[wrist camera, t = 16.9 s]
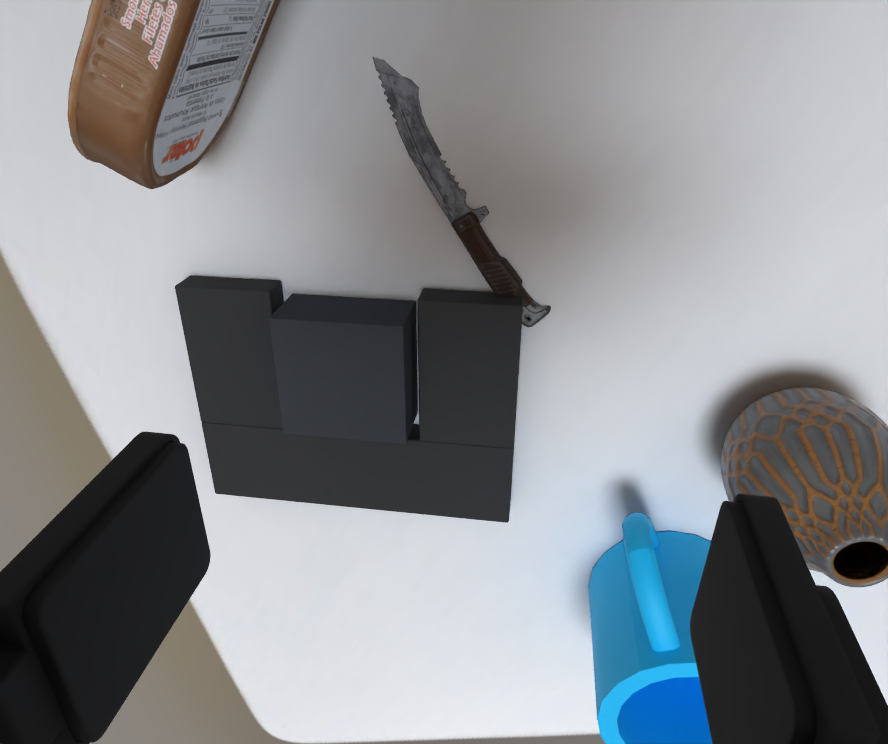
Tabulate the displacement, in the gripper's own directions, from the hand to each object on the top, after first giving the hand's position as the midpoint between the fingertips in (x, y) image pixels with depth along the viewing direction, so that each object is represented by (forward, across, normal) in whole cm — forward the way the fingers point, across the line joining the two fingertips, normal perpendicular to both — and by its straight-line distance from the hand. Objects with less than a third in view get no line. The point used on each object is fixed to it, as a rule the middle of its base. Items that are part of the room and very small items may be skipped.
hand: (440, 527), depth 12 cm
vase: (+19, -13, +9) cm, 25 cm away
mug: (+19, -9, +18) cm, 28 cm away
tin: (+20, +10, -9) cm, 24 cm away
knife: (+20, +3, -3) cm, 20 cm away
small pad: (+19, +7, +7) cm, 21 cm away
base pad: (+19, +7, +9) cm, 22 cm away
